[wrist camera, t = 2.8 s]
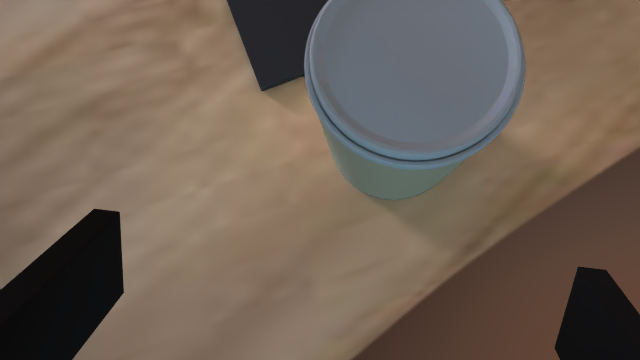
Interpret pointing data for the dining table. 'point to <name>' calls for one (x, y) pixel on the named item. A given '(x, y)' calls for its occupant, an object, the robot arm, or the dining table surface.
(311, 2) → the coaster
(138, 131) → the dining table surface
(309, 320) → the dining table surface
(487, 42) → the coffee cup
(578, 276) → the robot arm
